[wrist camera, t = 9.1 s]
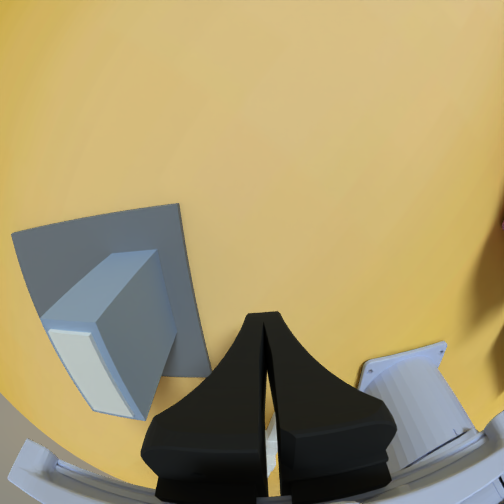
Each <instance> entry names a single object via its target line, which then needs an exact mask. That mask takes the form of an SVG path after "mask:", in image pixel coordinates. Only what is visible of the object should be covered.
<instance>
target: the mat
mask: <svg viewBox="0 0 504 504" xmlns="http://www.w3.org/2000/svg"><path fill="white" fill-rule="evenodd" d="M11 236H12V240H13V243H14V247H15V251H16V254H17V258H18V261H19V264H20V268H21V271H22V274H23V277H24V280H25V282H26V285H27V288H28V291H29V293H30V296H31V298H32V301H33V303H34V306H35V308H36V311H37V313H38V315H39V318H41V317H42V316H43V315H44V314H45V313H46V312H47V311H48V310H49V309H50V308H51V307H52V306H53V305H54V304H55V303H56V302H57V301H58V300H59V299H60V298H61V297H62V296H63V295H64V294H66V293H67V292H68V291H69V290H70V289H71V288H72V287H73V286H74V285H75V284H77V283H78V282H79V281H80V280H81V279H82V278H83V277H84V276H86V275H87V274H88V273H89V272H90V271H91V270H93V269H94V268H95V267H96V266H97V265H98V264H100V263H101V262H102V261H103V260H104V259H106V258H107V257H108V256H109V255H110V254H112V253H121V252H132V251H143V250H154V249H157V250H158V255H159V260H160V265H161V269H162V274H163V278H164V282H165V287H166V291H167V295H168V299H169V303H170V307H171V311H172V315H173V318H174V322H175V326H176V329H177V334H176V336H175V339H174V342H173V344H172V347H171V350H170V353H169V355H168V358H167V361H166V364H165V366H164V369H163V372H162V375H161V376H169V377H208V376H209V375H210V374H211V373H212V369H211V365H210V361H209V357H208V353H207V348H206V344H205V340H204V336H203V331H202V327H201V322H200V318H199V313H198V308H197V304H196V299H195V294H194V289H193V284H192V278H191V273H190V268H189V262H188V256H187V251H186V245H185V239H184V233H183V226H182V220H181V213H180V206H179V203H176V204H168V205H161V206H153V207H146V208H139V209H133V210H126V211H120V212H114V213H108V214H102V215H96V216H90V217H85V218H80V219H74V220H69V221H64V222H59V223H54V224H50V225H45V226H40V227H36V228H31V229H27V230H23V231H19V232H14V233H12V234H11Z"/></svg>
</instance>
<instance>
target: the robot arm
mask: <svg viewBox="0 0 504 504" xmlns="http://www.w3.org/2000/svg"><path fill="white" fill-rule="evenodd" d="M446 347H447V343H446V342H445V341H442V342H438V343H435V344H432V345H428V346H425V347H421V348H418V349H414V350H410V351H406V352H402V353H398V354H394V355H390V356H385V357H381V358H376V359H371V360H368V361H366V362H365V363H364V365H363V369H362V373H361V377H360V381H359V385H358V389H356V388H354V387H352V386H351V385H349V384H347V383H345V382H344V381H342V380H341V379H339V378H338V377H336V376H335V375H334V374H332V373H331V372H329V371H328V370H327V369H326V368H325V367H323V366H322V365H321V364H320V363H319V362H318V361H316V360H315V359H314V358H313V357H312V356H311V355H310V354H309V353H308V352H307V351H306V349H305V348H304V347H303V346H302V345H301V344H300V343H299V341H298V340H297V339H296V338H295V336H294V335H293V334H292V332H291V331H290V329H289V328H288V326H287V325H286V323H285V322H284V320H283V318H282V316H281V314H280V313H279V312H278V311H275V312H262V313H248V314H247V315H246V317H245V320H244V323H243V325H242V328H241V330H240V332H239V334H238V335H237V337H236V339H235V341H234V343H233V344H232V346H231V347H230V349H229V350H228V352H227V353H226V355H225V356H224V358H223V359H222V360H221V362H220V363H219V364H218V366H217V367H216V368H215V369H214V370H213V371H212V373H211V374H210V375H209V376H208V377H207V378H206V379H205V380H204V381H203V382H202V383H201V384H200V385H199V386H198V387H196V388H195V389H194V390H193V391H192V392H190V393H189V394H188V395H187V396H185V397H184V398H183V399H182V400H180V401H179V402H178V403H176V404H175V405H173V406H171V407H170V408H168V409H166V410H165V411H163V412H161V413H160V414H158V415H156V416H154V418H153V420H152V422H151V424H150V426H149V428H148V430H147V432H146V435H145V439H144V442H143V445H142V449H141V457H142V459H143V460H144V462H145V463H146V464H147V465H148V466H149V467H150V468H151V469H152V470H153V472H154V473H155V474H156V475H157V476H158V477H159V478H158V482H157V487H156V489H151V488H147V487H142V486H138V485H133V484H129V483H126V482H122V481H118V480H115V479H111V478H108V477H105V476H102V475H99V474H96V473H93V472H90V471H87V470H85V469H82V468H79V467H77V466H74V465H72V464H69V463H67V462H65V461H62V460H60V459H58V457H57V456H56V455H55V454H53V453H52V452H51V451H50V450H49V449H47V448H46V447H44V446H43V445H40V444H38V443H36V442H34V441H33V440H31V439H29V438H27V439H26V441H25V443H24V445H23V447H22V449H21V450H20V452H19V454H18V456H17V458H16V460H15V462H14V464H13V467H12V469H11V471H10V473H9V475H8V480H9V481H10V482H12V483H13V484H15V485H16V486H17V487H19V488H20V489H21V490H23V491H24V492H26V493H27V494H29V495H30V496H32V497H33V498H35V499H36V500H38V501H39V502H41V503H42V504H360V503H362V504H504V410H503V411H502V412H500V413H499V414H497V415H496V416H495V417H494V418H493V419H492V420H491V421H490V422H489V423H488V424H487V425H486V427H485V428H484V430H482V431H481V432H479V431H478V430H476V429H475V427H474V425H473V424H472V422H471V420H470V419H469V417H468V415H467V413H466V412H465V410H464V409H463V407H462V405H461V404H460V402H459V400H458V399H457V397H456V396H455V394H454V393H453V391H452V389H451V388H450V386H449V385H448V383H447V382H446V380H445V379H444V377H443V376H442V374H441V373H440V371H439V370H438V367H439V364H440V362H441V360H442V357H443V355H444V352H445V350H446ZM267 372H268V377H269V383H270V388H271V394H272V399H273V405H274V411H275V418H276V432H277V446H278V462H279V478H280V495H281V496H276V497H268V478H267V458H266V437H265V398H266V379H267Z"/></svg>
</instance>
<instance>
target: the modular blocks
mask: <svg viewBox="0 0 504 504" xmlns="http://www.w3.org/2000/svg"><path fill="white" fill-rule="evenodd" d="M265 437H266V458H267V478H268V477H269V475H270V471H273V469H274V467H275V466H276V459H275V455H276V453H277V452H278V446H277V432H276V418H275V412H274V413H273V416H272V418H271V421H270V423H269V426H268V428H267V430H265Z"/></svg>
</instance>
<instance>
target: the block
mask: <svg viewBox="0 0 504 504" xmlns="http://www.w3.org/2000/svg"><path fill="white" fill-rule="evenodd" d="M40 320H41V322H42V324H43V327H44V329H45V331H46V333H47V335H48V337H49V339H50V341H51V343H52V345H53V347H54V349H55V351H56V353H57V354H58V356H59V358H60V360H61V362H62V363H63V365H64V367H65V369H66V370H67V372H68V374H69V375H70V377H71V379H72V380H73V382H74V384H75V385H76V387H77V388H78V390H79V391H80V393H81V394H82V396H83V397H84V399H85V400H86V402H87V403H88V405H89V406H90V407H91V409H92V410H93V411H95V412H100V413H104V414H109V415H114V416H119V417H125V418H130V419H137V420H143V421H146V419H147V416H148V413H149V410H150V407H151V404H152V401H153V398H154V395H155V392H156V389H157V386H158V383H159V381H160V378H161V375H162V372H163V369H164V366H165V364H166V361H167V358H168V355H169V353H170V350H171V347H172V344H173V342H174V339H175V336H176V334H177V329H176V326H175V322H174V318H173V315H172V311H171V307H170V303H169V299H168V295H167V291H166V287H165V282H164V278H163V274H162V269H161V265H160V260H159V255H158V250H157V249H154V250H143V251H132V252H121V253H112V254H110V255H109V256H108V257H107V258H106V259H104V260H103V261H102V262H101V263H100V264H98V265H97V266H96V267H95V268H94V269H93V270H91V271H90V272H89V273H88V274H87V275H86V276H84V277H83V278H82V279H81V280H80V281H79V282H78V283H77V284H75V285H74V286H73V287H72V288H71V289H70V290H69V291H68V292H67V293H66V294H64V295H63V296H62V297H61V298H60V299H59V300H58V301H57V302H56V303H55V304H54V305H53V306H52V307H51V308H50V309H49V310H48V311H47V312H46V313H45V314H44V315H43V316H42V317H41V318H40Z"/></svg>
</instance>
